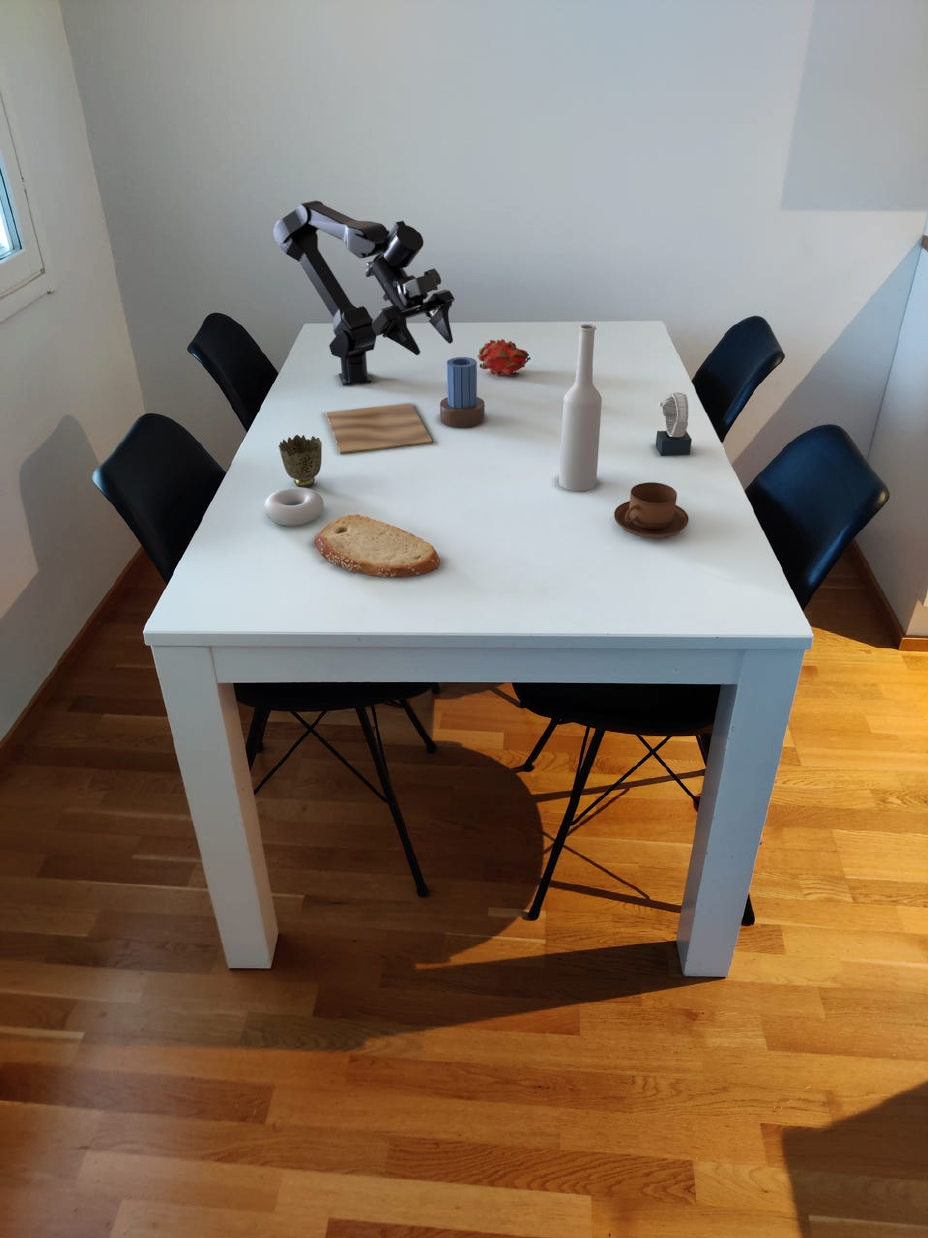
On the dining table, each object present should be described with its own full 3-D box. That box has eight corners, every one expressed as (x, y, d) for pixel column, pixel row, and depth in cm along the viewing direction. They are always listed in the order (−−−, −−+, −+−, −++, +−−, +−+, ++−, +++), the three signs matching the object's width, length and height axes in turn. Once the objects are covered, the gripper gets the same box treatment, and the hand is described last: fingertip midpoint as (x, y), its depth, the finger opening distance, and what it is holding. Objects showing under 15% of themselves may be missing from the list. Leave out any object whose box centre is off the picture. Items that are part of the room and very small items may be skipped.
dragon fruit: (473, 379, 215) (525, 386, 215) (476, 368, 206) (530, 376, 207) (477, 342, 215) (529, 349, 216) (481, 330, 206) (534, 338, 207)
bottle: (603, 482, 168) (616, 325, 152) (581, 495, 164) (591, 335, 148) (574, 471, 172) (583, 317, 156) (551, 483, 168) (558, 326, 152)
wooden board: (326, 414, 195) (325, 412, 195) (411, 404, 199) (411, 402, 198) (340, 453, 179) (340, 451, 179) (432, 442, 183) (432, 440, 183)
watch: (681, 440, 182) (688, 386, 176) (692, 458, 176) (699, 402, 169) (652, 441, 182) (658, 387, 176) (662, 459, 175) (669, 403, 169)
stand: (436, 413, 195) (434, 375, 190) (477, 408, 197) (477, 371, 192) (446, 430, 188) (445, 391, 183) (489, 425, 189) (489, 387, 185)
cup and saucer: (670, 551, 148) (675, 517, 144) (601, 532, 153) (603, 498, 150) (698, 519, 156) (702, 486, 153) (631, 502, 162) (634, 469, 158)
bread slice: (446, 571, 144) (445, 550, 142) (329, 591, 140) (326, 569, 138) (417, 517, 158) (416, 498, 156) (310, 534, 154) (308, 513, 152)
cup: (332, 478, 171) (328, 437, 166) (314, 496, 165) (309, 454, 160) (296, 472, 173) (291, 432, 168) (276, 490, 167) (270, 448, 162)
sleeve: (444, 399, 192) (443, 358, 187) (472, 396, 193) (472, 355, 188) (451, 409, 187) (450, 368, 182) (479, 406, 188) (479, 365, 183)
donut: (317, 531, 155) (330, 501, 163) (315, 512, 153) (328, 484, 161) (258, 528, 156) (274, 499, 164) (255, 510, 154) (271, 481, 162)
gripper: (377, 266, 177) (420, 337, 177) (447, 247, 188) (487, 314, 188) (353, 300, 186) (394, 368, 186) (421, 281, 197) (460, 344, 197)
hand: (435, 348), depth 189 cm, fingers open, 9 cm apart
